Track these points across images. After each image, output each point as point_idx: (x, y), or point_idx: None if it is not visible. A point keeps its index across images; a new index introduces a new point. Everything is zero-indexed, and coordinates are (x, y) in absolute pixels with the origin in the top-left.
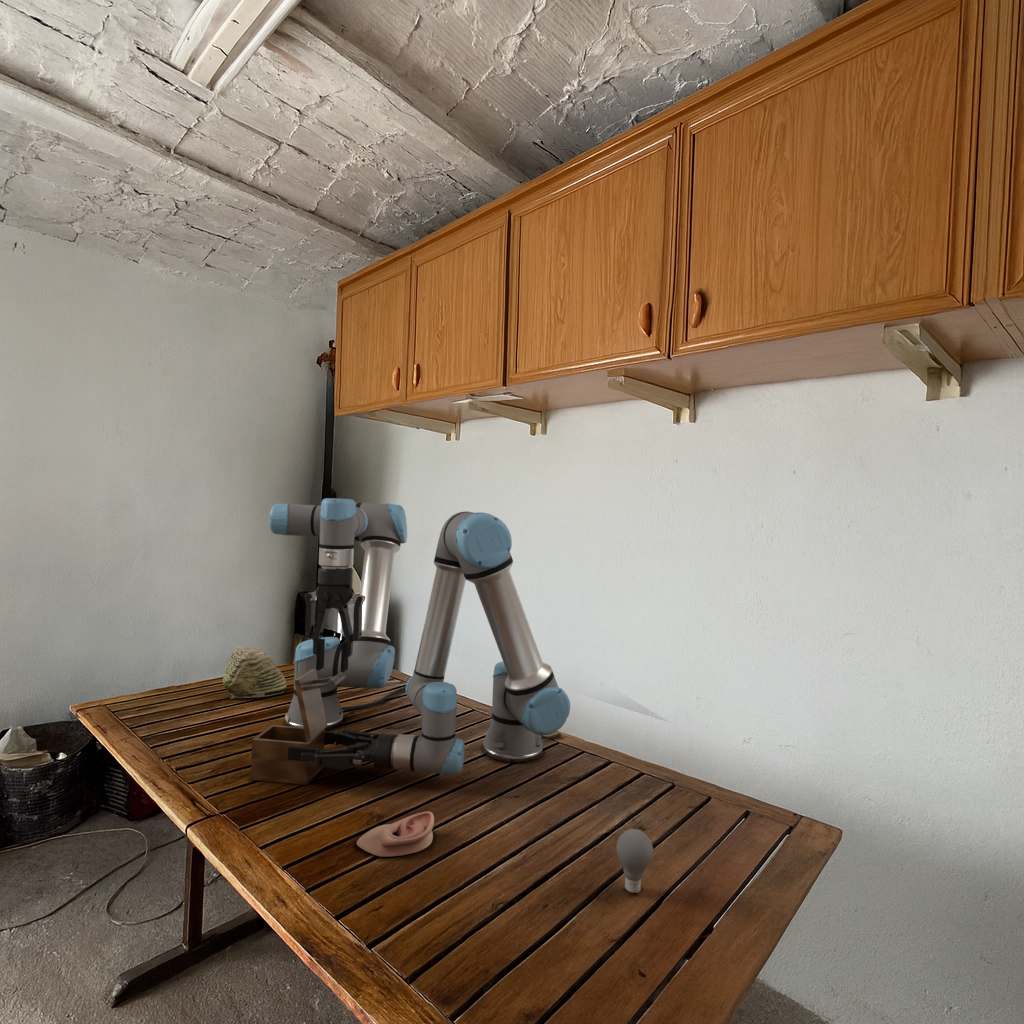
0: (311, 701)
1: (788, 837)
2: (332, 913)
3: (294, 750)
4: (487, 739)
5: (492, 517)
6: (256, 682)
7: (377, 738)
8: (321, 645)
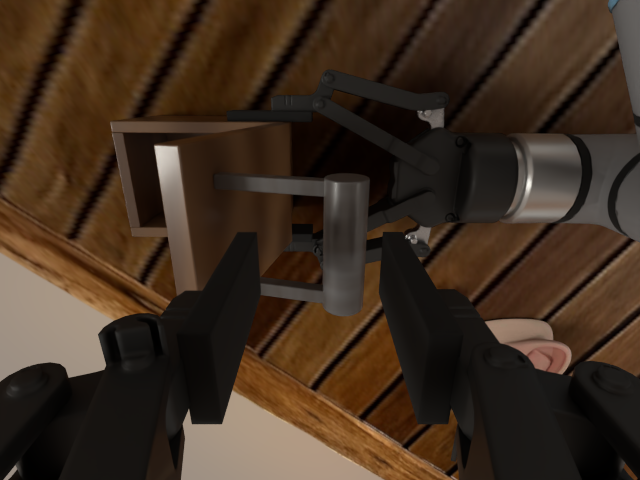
0: (251, 228)
1: None
2: (442, 470)
3: None
4: None
5: None
6: None
7: (467, 204)
8: (228, 369)
